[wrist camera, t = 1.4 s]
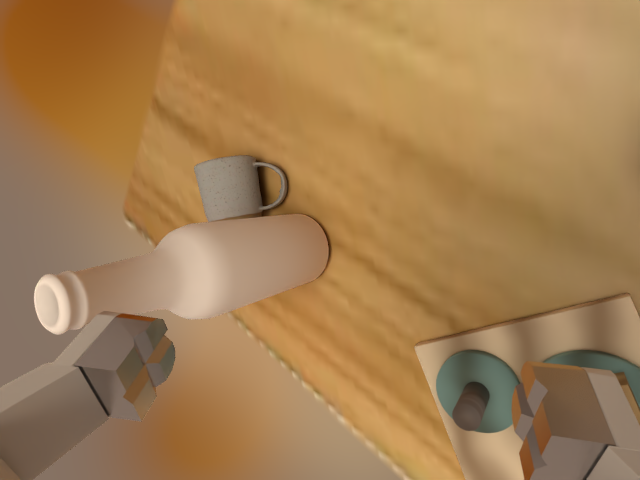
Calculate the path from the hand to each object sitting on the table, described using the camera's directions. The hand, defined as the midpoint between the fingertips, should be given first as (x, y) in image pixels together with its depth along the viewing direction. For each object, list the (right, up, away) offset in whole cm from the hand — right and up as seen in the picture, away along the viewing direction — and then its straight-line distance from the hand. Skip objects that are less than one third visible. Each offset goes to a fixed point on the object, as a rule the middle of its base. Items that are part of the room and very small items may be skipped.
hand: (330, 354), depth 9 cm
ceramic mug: (-9, +10, +46) cm, 47 cm away
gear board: (+21, -13, +30) cm, 39 cm away
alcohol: (-2, +2, +43) cm, 43 cm away
